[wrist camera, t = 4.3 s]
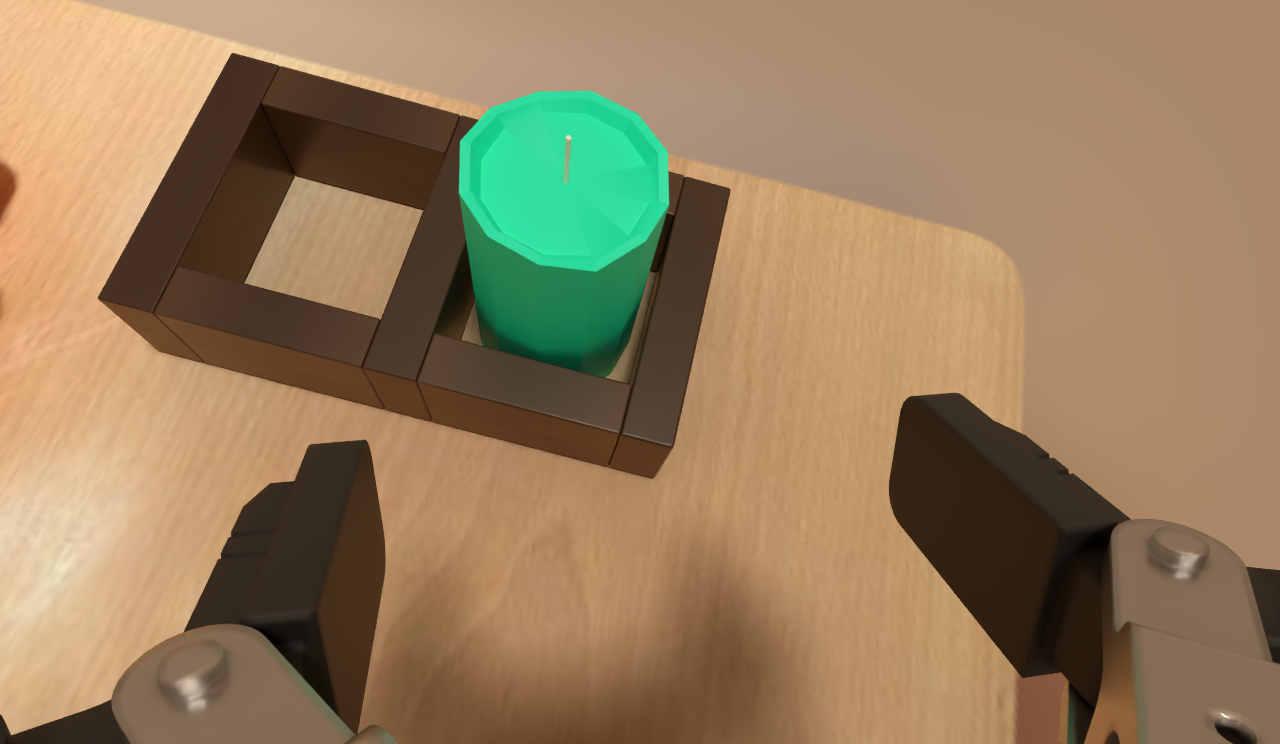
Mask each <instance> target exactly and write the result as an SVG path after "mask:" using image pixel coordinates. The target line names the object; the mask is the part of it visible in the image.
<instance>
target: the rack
mask: <svg viewBox="0 0 1280 744" xmlns="http://www.w3.org/2000/svg"><path fill="white" fill-rule="evenodd" d="M478 121H479V120H477V119H473V118H470V117H466V116H461V117H460V115H458V114H455V113H451V112H448V111H444V110H440V109H437V108H433V107H429V106H426V105H422V104H418V103H415V102H411V101H407V100H404V99H400V98H396V97H393V96H389V95H385V94H382V93H378V92H374V91H371V90H367V89H363V88H360V87H356V86H352V85H349V84H345V83H341V82H337V81H334V80H330V79H326V78H323V77H319V76H315V75H312V74H308V73H304V72H301V71H297V70H293V69H290V68H286V67H282V66H278V65H275V64H272V63H268V62H264V61H261V60H257V59H253V58H250V57H246V56H242V55H239V54H235V53H232V54H231V55H230V57H229V59H228V61H227V63H226V64H225V66H224V68H223V70H222V72H221V74H220V75H219V77H218V79H217V81H216V83H215V85H214V86H213V88H212V90H211V92H210V94H209V96H208V97H207V99H206V101H205V103H204V105H203V106H202V108H201V110H200V112H199V114H198V116H197V117H196V119H195V121H194V123H193V125H192V127H191V128H190V130H189V132H188V134H187V136H186V138H185V139H184V141H183V143H182V145H181V147H180V148H179V150H178V152H177V154H176V156H175V158H174V159H173V161H172V163H171V165H170V167H169V169H168V170H167V172H166V174H165V176H164V178H163V180H162V181H161V183H160V185H159V187H158V189H157V191H156V192H155V194H154V196H153V198H152V200H151V201H150V203H149V205H148V207H147V209H146V211H145V212H144V214H143V216H142V218H141V220H140V222H139V223H138V225H137V227H136V229H135V231H134V233H133V234H132V236H131V238H130V240H129V242H128V244H127V245H126V247H125V249H124V251H123V253H122V254H121V256H120V258H119V260H118V262H117V264H116V265H115V267H114V269H113V271H112V273H111V275H110V276H109V278H108V280H107V282H106V284H105V286H104V287H103V289H102V291H101V293H100V295H99V297H98V299H99V300H100V301H101V302H102V303H103V304H105V305H106V306H107V307H108V308H109V309H110V310H112V311H113V312H114V313H115V314H116V315H117V316H119V317H120V318H121V319H122V320H123V321H124V322H126V323H127V324H128V325H129V326H130V327H131V328H133V329H134V330H135V331H136V332H137V333H138V334H140V335H141V336H142V337H143V338H144V339H145V340H147V341H148V342H149V343H150V344H151V345H152V346H154V347H155V348H156V349H157V350H158V351H160V352H164V353H168V354H172V355H176V356H180V357H184V358H188V359H191V360H195V361H199V362H203V363H204V362H206V363H207V364H211V365H215V366H219V367H223V368H227V369H231V370H234V371H238V372H242V373H246V374H250V375H254V376H258V377H262V378H265V379H269V380H273V381H277V382H281V383H285V384H289V385H293V386H296V387H300V388H304V389H308V390H312V391H316V392H320V393H324V394H327V395H331V396H335V397H339V398H343V399H347V400H351V401H355V402H358V403H362V404H366V405H370V406H374V407H378V408H382V409H385V408H386V409H387V410H389V411H393V412H397V413H401V414H405V415H409V416H413V417H416V418H420V419H424V420H428V421H432V420H433V422H436V423H440V424H444V425H447V426H451V427H455V428H459V429H463V430H467V431H471V432H475V433H478V434H482V435H486V436H490V437H494V438H498V439H502V440H506V441H509V442H513V443H517V444H521V445H525V446H529V447H533V448H537V449H540V450H544V451H548V452H552V453H556V454H560V455H564V456H568V457H571V458H575V459H579V460H583V461H587V462H591V463H595V464H599V465H602V466H608V465H609V467H611V468H614V469H618V470H622V471H626V472H630V473H634V474H638V475H641V476H645V477H649V478H654V477H655V476H656V474H657V472H658V471H659V469H660V468H661V466H662V464H663V463H664V461H665V460H666V458H667V457H668V455H669V453H670V452H671V450H672V449H673V447H674V443H675V439H676V434H677V430H678V425H679V421H680V416H681V412H682V407H683V403H684V398H685V394H686V389H687V385H688V380H689V376H690V371H691V367H692V362H693V358H694V353H695V349H696V344H697V340H698V335H699V331H700V326H701V322H702V317H703V313H704V308H705V304H706V299H707V295H708V290H709V286H710V281H711V277H712V272H713V268H714V263H715V259H716V254H717V250H718V245H719V241H720V236H721V232H722V227H723V223H724V218H725V214H726V209H727V205H728V200H729V196H730V189H729V188H726V187H723V186H719V185H715V184H712V183H708V182H704V181H701V180H697V179H693V178H690V177H685V178H684V176H683V175H680V174H676V173H672V172H669V171H668V181H669V207H668V210H667V214H666V217H665V220H664V224H663V227H662V231H661V234H660V237H659V241H658V244H657V248H656V251H655V254H654V258H653V261H652V265H651V268H650V270H652V271H656V272H657V275H656V279H655V283H654V287H653V291H652V295H651V299H650V303H649V307H648V311H647V315H646V319H645V323H644V327H643V331H642V335H641V339H640V343H639V347H638V351H637V355H636V359H635V363H634V367H633V371H632V374H631V378H630V382H629V384H626V383H622V382H619V381H615V380H611V379H607V378H603V377H599V376H596V375H592V374H588V373H584V372H580V371H577V370H573V369H569V368H565V367H561V366H558V365H554V364H550V363H546V362H542V361H538V360H535V359H531V358H527V357H523V356H519V355H516V354H512V353H508V352H504V351H500V350H496V349H493V348H489V347H485V346H481V345H477V344H474V343H470V342H466V341H462V340H460V339H461V336H462V333H463V330H464V328H465V325H466V322H467V319H468V316H469V313H470V310H471V307H472V304H473V302H474V299H475V295H474V288H473V282H472V275H471V269H470V262H469V255H468V249H467V242H466V236H465V229H464V223H463V216H462V210H461V203H460V196H459V170H460V141H461V139H462V138H463V137H464V136H465V135H466V134H467V133H468V132H469V131H470V130H471V128H472V127H473V126H474V125H475V124H476V123H477V122H478ZM295 174H296V175H297V176H301V177H305V178H309V179H312V180H316V181H320V182H324V183H327V184H331V185H335V186H339V187H342V188H346V189H350V190H353V191H357V192H361V193H365V194H368V195H372V196H376V197H380V198H383V199H387V200H391V201H395V202H398V203H402V204H406V205H410V206H413V207H417V208H421V209H424V211H423V213H422V216H421V218H420V221H419V223H418V226H417V229H416V231H415V234H414V236H413V239H412V241H411V244H410V246H409V249H408V252H407V254H406V257H405V259H404V262H403V264H402V267H401V269H400V272H399V275H398V277H397V280H396V282H395V285H394V287H393V290H392V292H391V295H390V298H389V300H388V303H387V305H386V308H385V310H384V313H383V315H382V318H381V320H380V319H378V318H374V317H370V316H367V315H363V314H359V313H355V312H351V311H348V310H344V309H340V308H336V307H332V306H328V305H325V304H321V303H317V302H313V301H309V300H306V299H302V298H298V297H294V296H290V295H286V294H283V293H279V292H275V291H271V290H267V289H264V288H260V287H256V286H252V285H248V284H244V283H243V282H244V280H245V278H246V276H247V274H248V272H249V270H250V267H251V265H252V263H253V261H254V259H255V257H256V255H257V253H258V251H259V248H260V246H261V244H262V242H263V240H264V238H265V236H266V234H267V232H268V229H269V227H270V225H271V223H272V221H273V219H274V217H275V215H276V213H277V210H278V208H279V206H280V204H281V202H282V200H283V198H284V196H285V194H286V191H287V189H288V187H289V185H290V183H291V181H292V179H293V177H294V175H295Z"/></svg>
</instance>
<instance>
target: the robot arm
mask: <svg viewBox="0 0 1280 744" xmlns="http://www.w3.org/2000/svg"><path fill="white" fill-rule="evenodd" d="M889 497H890V503H891V507H892V510H893V513H894V515H895V518H896V519H897V521H898V523H899V524H900V525H901V527H902V528H903V529H904V530H905V532H906V533H907V534H908V535H909V537H910V538H911V539H912V540H913V542H914V543H915V544H916V545H917V547H918V548H919V549H920V550H921V552H922V553H923V554H924V555H925V557H926V558H927V559H928V560H929V562H930V563H931V564H932V565H933V567H934V568H935V569H936V570H937V572H938V573H939V574H940V575H941V577H942V578H943V579H944V580H945V582H946V583H947V584H948V585H949V587H950V588H951V589H952V590H953V592H954V593H955V594H956V595H957V597H958V598H959V599H960V600H961V602H962V603H963V604H964V605H965V607H966V608H967V609H968V610H969V612H970V613H971V614H972V615H973V617H974V618H975V619H976V620H977V622H978V623H979V624H980V625H981V627H982V628H983V629H984V630H985V632H986V633H987V634H988V635H989V637H990V638H991V639H992V640H993V642H994V643H995V644H996V645H997V647H998V648H999V649H1000V650H1001V652H1002V653H1003V654H1004V655H1005V657H1006V658H1007V659H1008V660H1009V662H1010V663H1011V664H1012V665H1013V667H1014V668H1015V669H1016V670H1017V672H1018V673H1019V674H1020V675H1021V677H1022V678H1026V677H1032V676H1039V675H1046V674H1053V673H1060V672H1061V673H1062V674H1063V675H1064V676H1065V677H1066V678H1067V682H1066V685H1065V688H1064V692H1063V695H1062V699H1061V713H1060V738H1059V744H1280V570H1271V569H1262V568H1252V567H1246V566H1245V564H1244V563H1243V561H1242V560H1241V559H1240V557H1239V556H1238V555H1237V554H1236V553H1234V552H1233V551H1232V550H1231V549H1229V548H1228V547H1227V546H1226V545H1224V544H1223V543H1221V542H1219V541H1218V540H1216V539H1214V538H1212V537H1210V536H1208V535H1206V534H1204V533H1202V532H1200V531H1197V530H1195V529H1192V528H1189V527H1186V526H1183V525H1180V524H1176V523H1172V522H1167V521H1162V520H1153V519H1136V520H1131V519H1130V518H1129V517H1127V516H1126V515H1125V514H1123V513H1122V512H1121V511H1120V510H1118V509H1117V508H1116V507H1115V506H1113V505H1112V504H1111V503H1110V502H1108V501H1107V500H1106V499H1105V498H1103V497H1102V496H1101V495H1099V494H1098V493H1097V492H1096V491H1095V490H1093V489H1092V488H1091V487H1090V486H1088V485H1087V484H1086V483H1085V482H1083V481H1082V480H1080V478H1078V477H1077V476H1075V474H1069V472H1068V469H1067V468H1066V467H1065V466H1063V465H1062V464H1061V463H1060V462H1058V461H1057V460H1056V459H1054V458H1049V454H1048V453H1047V452H1046V451H1044V450H1043V449H1042V448H1041V447H1039V446H1038V445H1037V444H1035V443H1034V442H1033V441H1032V440H1031V439H1029V438H1028V437H1027V436H1026V435H1023V434H1021V433H1019V432H1017V431H1015V430H1013V429H1010V428H1008V427H1006V426H1004V425H1002V424H1000V423H998V422H995V421H993V420H992V419H991V418H990V417H988V416H987V415H986V414H985V413H984V412H982V411H981V410H980V409H979V408H977V407H976V406H975V405H974V404H973V403H971V402H970V401H969V400H968V399H966V398H965V397H964V396H963V395H961V394H959V393H946V394H934V395H921V396H911V397H909V398H907V399H906V400H905V402H904V403H903V405H902V408H901V412H900V417H899V424H898V430H897V436H896V443H895V449H894V455H893V462H892V468H891V474H890V481H889ZM384 576H385V539H384V531H383V525H382V518H381V512H380V506H379V500H378V493H377V487H376V481H375V475H374V468H373V462H372V456H371V451H370V447H369V444H368V442H367V441H366V440H357V441H345V442H333V443H321V444H311V445H309V446H308V448H307V451H306V453H305V456H304V458H303V461H302V463H301V466H300V468H299V471H298V473H297V476H296V479H295V481H291V482H280V483H270V484H269V485H268V486H267V487H265V488H264V489H263V490H262V491H261V492H260V493H259V494H257V495H256V496H255V497H254V498H253V499H252V500H250V501H249V502H248V503H247V504H246V505H245V506H244V507H243V508H242V510H241V513H240V515H239V517H238V519H237V521H236V523H235V525H234V527H233V529H232V531H231V537H229V538H228V540H227V542H226V544H225V546H224V548H223V550H222V552H221V559H218V561H217V563H216V565H215V567H214V569H213V571H212V573H211V576H210V578H209V580H208V582H207V584H206V586H205V588H204V590H203V592H202V594H201V597H200V599H199V601H198V603H197V605H196V607H195V609H194V611H193V613H192V615H191V618H190V620H189V622H188V624H187V626H186V628H185V630H184V632H183V633H181V634H178V635H176V636H174V637H171V638H169V639H167V640H165V641H163V642H162V643H160V644H158V645H156V646H155V647H153V648H152V649H150V650H149V651H147V652H146V653H144V654H143V655H142V656H141V657H140V658H138V659H137V660H136V661H135V662H134V663H133V664H132V665H131V666H130V667H129V668H128V669H127V670H126V671H125V672H124V674H123V675H122V677H121V678H120V679H119V681H118V683H117V685H116V687H115V689H114V691H113V695H112V699H111V700H109V701H107V702H105V703H103V704H100V705H98V706H95V707H93V708H90V709H87V710H85V711H82V712H79V713H76V714H73V715H70V716H67V717H64V718H61V719H58V720H55V721H52V722H50V723H47V724H44V725H41V726H38V727H35V728H32V729H29V730H26V731H23V732H20V733H17V734H14V735H11V734H10V732H9V729H8V727H7V725H6V723H5V721H4V719H3V717H2V716H1V715H0V744H400V743H399V742H398V741H397V740H396V739H395V738H394V737H393V736H392V735H390V734H389V733H388V732H387V731H386V730H384V729H383V728H381V727H379V726H377V725H371V726H369V727H367V728H366V729H365V730H363V731H362V732H360V733H359V734H358V728H359V722H360V716H361V710H362V705H363V699H364V693H365V687H366V681H367V675H368V670H369V664H370V658H371V652H372V646H373V641H374V635H375V629H376V623H377V617H378V611H379V606H380V600H381V594H382V588H383V582H384Z"/></svg>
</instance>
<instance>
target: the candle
mask: <svg viewBox="0 0 1280 744" xmlns="http://www.w3.org/2000/svg"><path fill="white" fill-rule="evenodd" d="M459 196H460V203H461V210H462V216H463V223H464V229H465V236H466V242H467V249H468V255H469V262H470V269H471V275H472V282H473V288H474V295H475V301H476V308H477V315H478V321H479V328H480V334H481V341H482V343H483V345H484V346H485V347H489V348H493V349H496V350H500V351H504V352H508V353H512V354H516V355H519V356H523V357H527V358H531V359H535V360H538V361H542V362H546V363H550V364H554V365H558V366H561V367H565V368H569V369H573V370H577V371H580V372H584V373H588V374H592V375H596V376H599V377H603V378H604V377H605V376H607V375H609V374H611V372H612V370H613V368H614V367H615V365H616V363H617V361H618V360H619V358H620V356H621V354H622V353H623V351H624V349H625V348H626V346H627V344H628V342H629V339H630V336H631V332H632V329H633V325H634V322H635V319H636V315H637V312H638V309H639V305H640V302H641V298H642V295H643V292H644V288H645V285H646V281H647V278H648V275H649V271H650V268H651V265H652V261H653V258H654V254H655V251H656V248H657V244H658V241H659V237H660V234H661V231H662V227H663V224H664V220H665V217H666V214H667V210H668V207H669V181H668V151H667V150H666V149H665V148H664V146H663V145H662V144H661V143H660V141H659V140H658V139H657V137H656V136H655V135H654V134H653V133H652V131H651V130H650V129H649V127H648V126H647V125H646V124H645V122H644V121H643V120H642V118H641V117H640V116H639V115H638V114H637V113H635V112H633V111H631V110H629V109H627V108H625V107H623V106H621V105H619V104H616V103H615V102H613V101H611V100H609V99H606V98H604V97H602V96H600V95H598V94H596V93H594V92H592V91H554V92H553V91H550V92H535V93H533V94H529V95H527V96H524V97H521V98H518V99H515V100H512V101H509V102H506V103H503V104H501V105H498V106H495V107H492V108H490V109H489V110H488V111H487V112H486V113H485V114H484V115H483V116H482V118H481V119H480V120H479V121H478V122H477V123H476V124H475V125H474V126H473V127H472V128H471V130H470V131H469V132H468V133H467V134H466V135H465V136H464V137H463V138H462V139H461V141H460V170H459Z"/></svg>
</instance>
